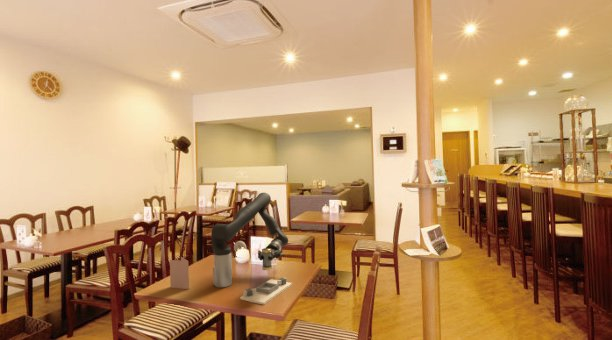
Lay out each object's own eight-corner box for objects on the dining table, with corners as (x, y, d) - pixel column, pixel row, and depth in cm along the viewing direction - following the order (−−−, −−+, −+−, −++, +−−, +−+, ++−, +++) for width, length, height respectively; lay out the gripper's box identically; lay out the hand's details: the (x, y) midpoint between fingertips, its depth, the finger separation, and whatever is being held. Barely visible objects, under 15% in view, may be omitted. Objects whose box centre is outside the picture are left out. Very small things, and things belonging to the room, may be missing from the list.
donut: (233, 254, 224) (232, 241, 224) (235, 253, 227) (235, 240, 227) (244, 255, 220) (244, 241, 220) (247, 254, 224) (247, 240, 224)
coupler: (260, 269, 153) (260, 249, 153) (265, 266, 158) (265, 247, 158) (268, 270, 151) (267, 250, 151) (273, 267, 155) (273, 248, 155)
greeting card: (190, 288, 161) (190, 260, 161) (176, 292, 156) (175, 263, 156) (183, 282, 170) (182, 256, 169) (169, 286, 165) (168, 259, 165)
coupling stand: (240, 299, 146) (240, 291, 146) (270, 280, 169) (270, 274, 169) (263, 304, 140) (263, 297, 140) (292, 284, 163) (291, 278, 163)
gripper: (260, 242, 169) (251, 251, 152) (285, 242, 168) (279, 251, 151) (261, 255, 170) (251, 265, 153) (286, 256, 168) (279, 266, 151)
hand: (265, 258), depth 152 cm, fingers closed on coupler, 4 cm apart
